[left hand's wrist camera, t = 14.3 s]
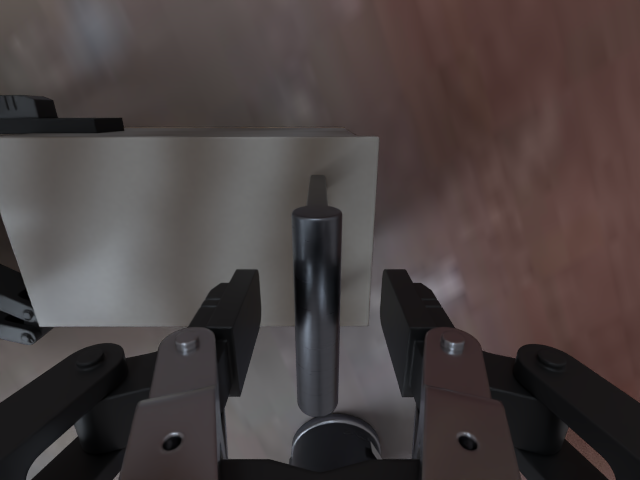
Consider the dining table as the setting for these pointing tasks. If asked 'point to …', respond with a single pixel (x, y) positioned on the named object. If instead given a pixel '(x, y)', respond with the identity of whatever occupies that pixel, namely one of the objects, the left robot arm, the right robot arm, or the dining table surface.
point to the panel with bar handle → (197, 233)
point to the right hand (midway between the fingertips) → (129, 216)
